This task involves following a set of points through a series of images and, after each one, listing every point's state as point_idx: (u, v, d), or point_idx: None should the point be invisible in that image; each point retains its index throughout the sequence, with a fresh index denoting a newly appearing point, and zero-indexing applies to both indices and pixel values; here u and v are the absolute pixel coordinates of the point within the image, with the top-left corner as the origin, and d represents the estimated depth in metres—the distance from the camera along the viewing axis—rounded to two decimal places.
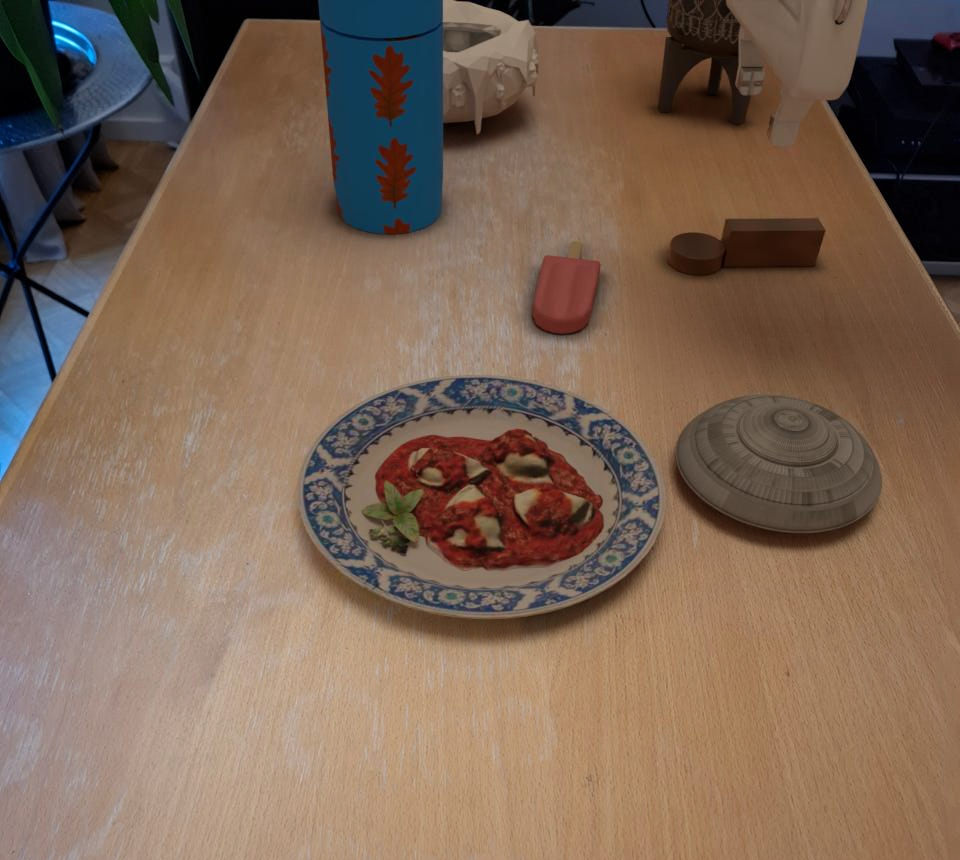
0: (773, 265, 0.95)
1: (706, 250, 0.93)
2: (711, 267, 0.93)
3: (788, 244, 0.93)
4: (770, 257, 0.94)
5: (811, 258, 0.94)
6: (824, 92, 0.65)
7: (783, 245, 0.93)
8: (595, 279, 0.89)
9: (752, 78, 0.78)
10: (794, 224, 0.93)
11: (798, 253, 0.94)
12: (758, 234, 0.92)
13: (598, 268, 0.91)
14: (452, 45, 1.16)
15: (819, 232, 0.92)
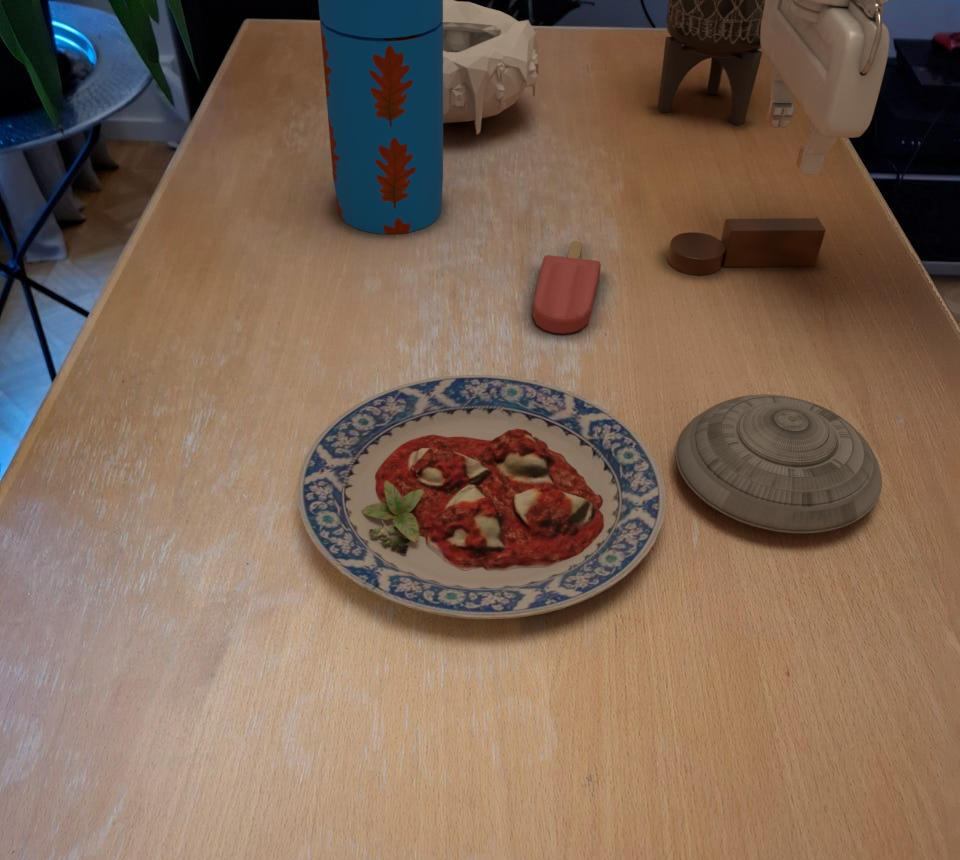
0: (773, 265, 0.95)
1: (706, 250, 0.93)
2: (711, 267, 0.93)
3: (788, 244, 0.93)
4: (770, 257, 0.94)
5: (811, 258, 0.94)
6: (849, 131, 0.77)
7: (783, 245, 0.93)
8: (595, 279, 0.89)
9: (783, 113, 0.89)
10: (794, 224, 0.93)
11: (798, 253, 0.94)
12: (758, 234, 0.92)
13: (598, 268, 0.91)
14: (452, 45, 1.16)
15: (819, 232, 0.92)
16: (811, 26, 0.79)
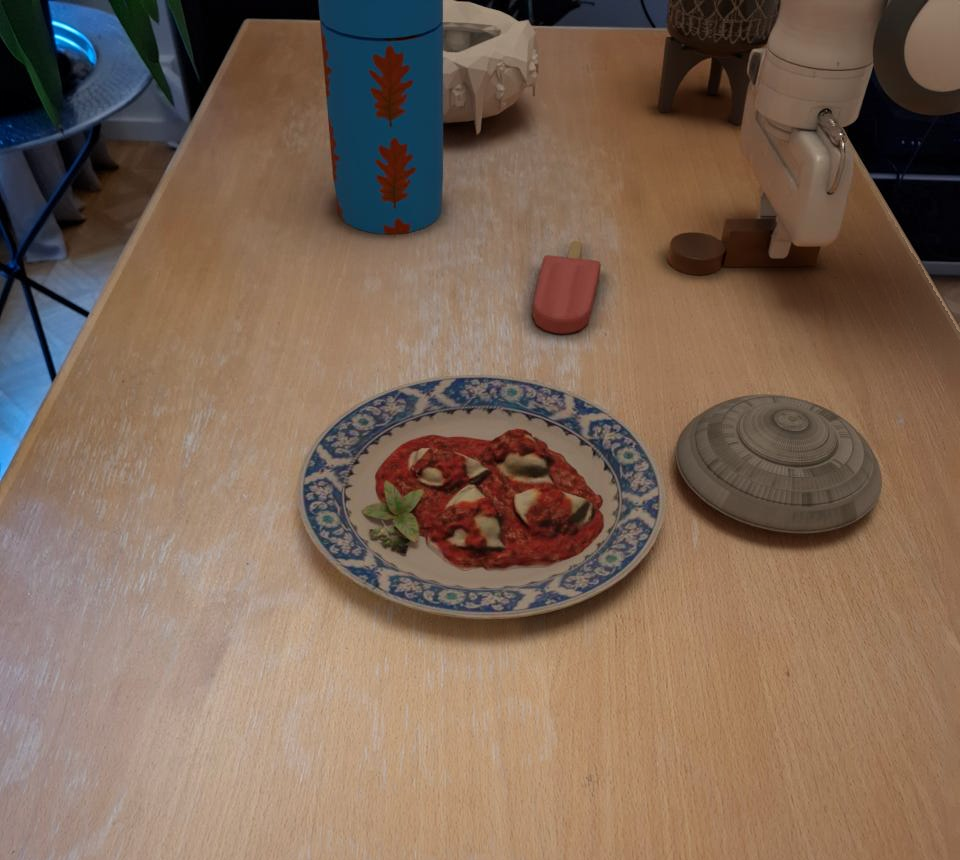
0: (773, 265, 0.95)
1: (706, 251, 0.93)
2: (711, 267, 0.93)
3: None
4: (770, 257, 0.94)
5: (811, 258, 0.94)
6: (819, 241, 0.84)
7: None
8: (595, 279, 0.89)
9: None
10: None
11: (798, 253, 0.94)
12: (758, 234, 0.92)
13: (598, 268, 0.91)
14: (452, 45, 1.16)
15: None
16: (784, 142, 0.86)
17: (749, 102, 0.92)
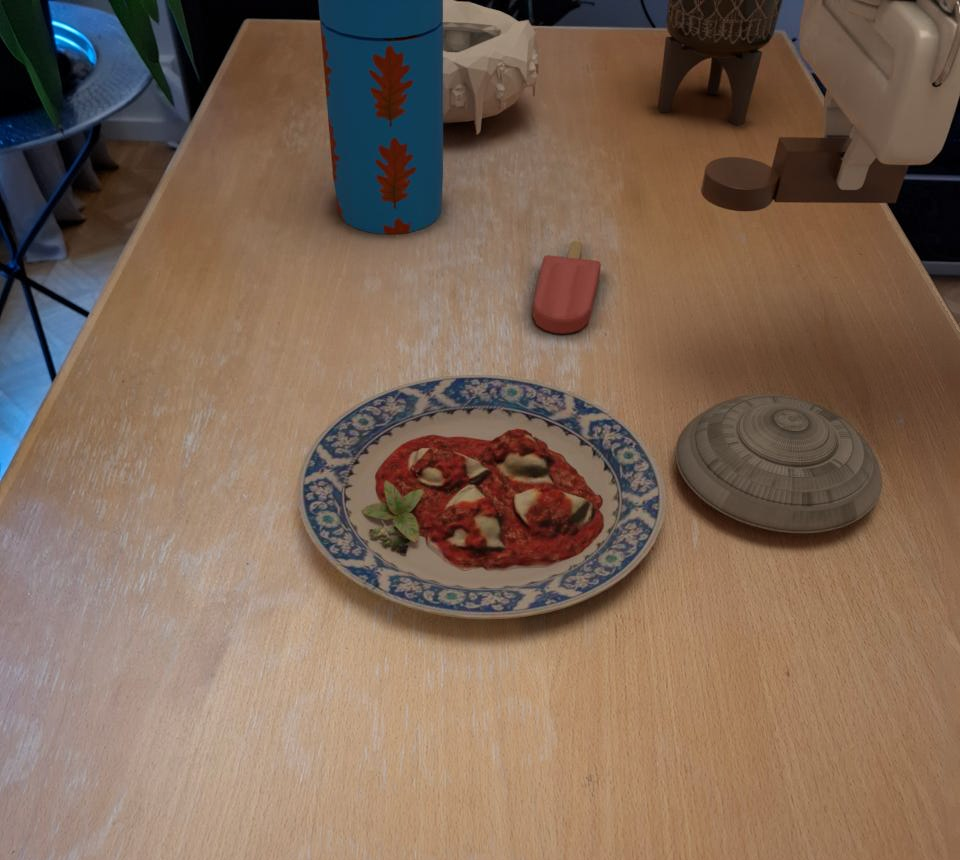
0: (841, 201, 0.72)
1: (753, 179, 0.70)
2: (760, 201, 0.70)
3: None
4: (837, 189, 0.71)
5: (891, 192, 0.71)
6: (915, 157, 0.61)
7: None
8: (595, 279, 0.89)
9: None
10: None
11: (875, 184, 0.71)
12: (823, 156, 0.69)
13: (598, 268, 0.91)
14: (452, 45, 1.16)
15: None
16: (866, 24, 0.63)
17: None
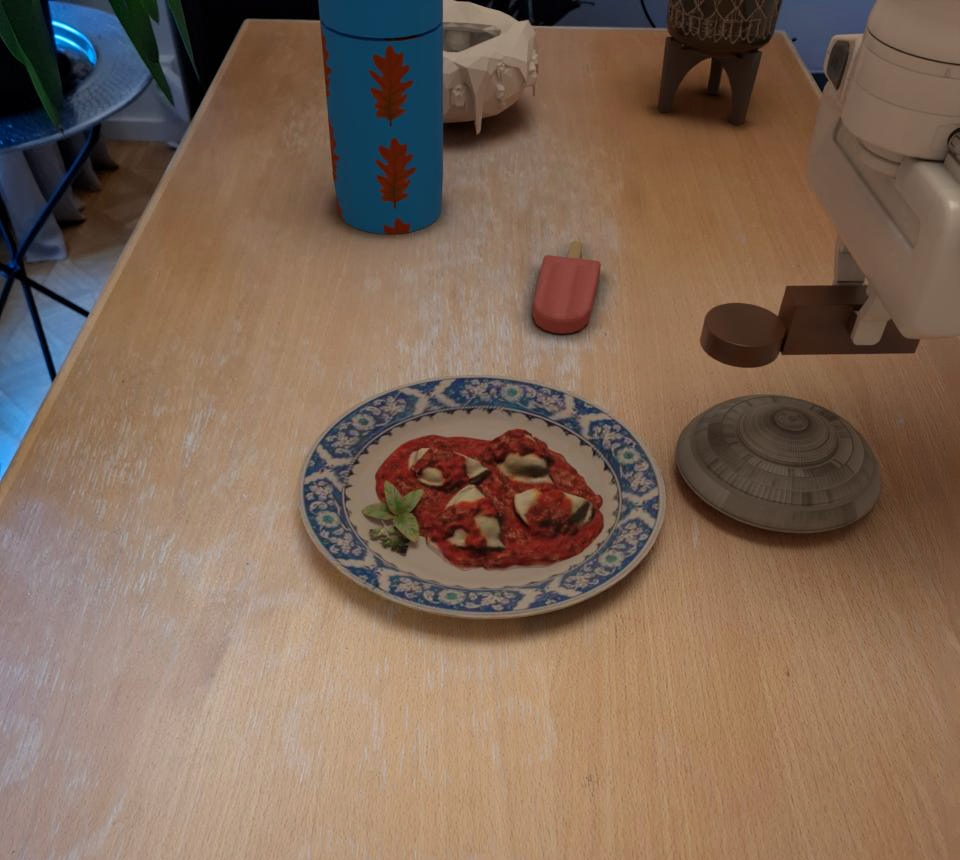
0: (854, 352, 0.65)
1: (757, 332, 0.63)
2: (766, 357, 0.63)
3: None
4: (851, 341, 0.64)
5: (910, 343, 0.65)
6: (943, 333, 0.54)
7: None
8: (595, 279, 0.89)
9: None
10: None
11: (893, 335, 0.64)
12: (836, 309, 0.62)
13: (598, 268, 0.91)
14: (452, 45, 1.16)
15: None
16: (885, 178, 0.56)
17: (824, 115, 0.62)
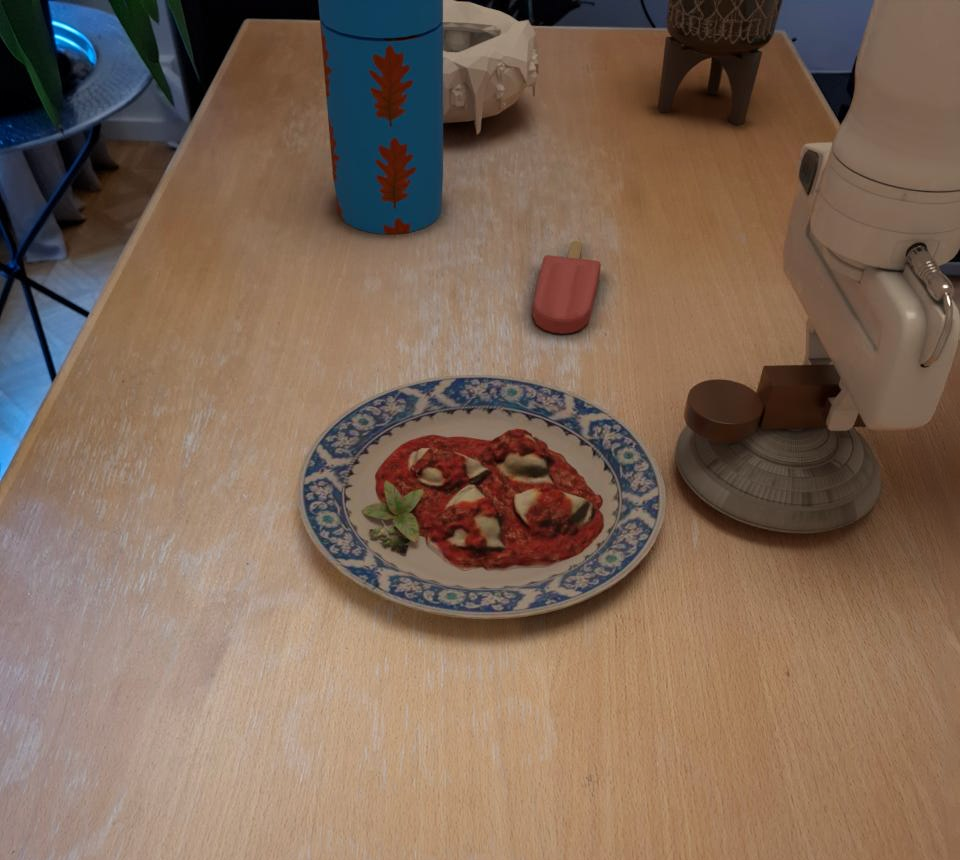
0: None
1: (737, 409, 0.68)
2: (745, 433, 0.68)
3: None
4: None
5: None
6: (904, 427, 0.59)
7: None
8: (595, 279, 0.89)
9: None
10: None
11: None
12: (809, 389, 0.67)
13: (598, 268, 0.91)
14: (452, 45, 1.16)
15: None
16: (852, 279, 0.61)
17: (797, 211, 0.67)
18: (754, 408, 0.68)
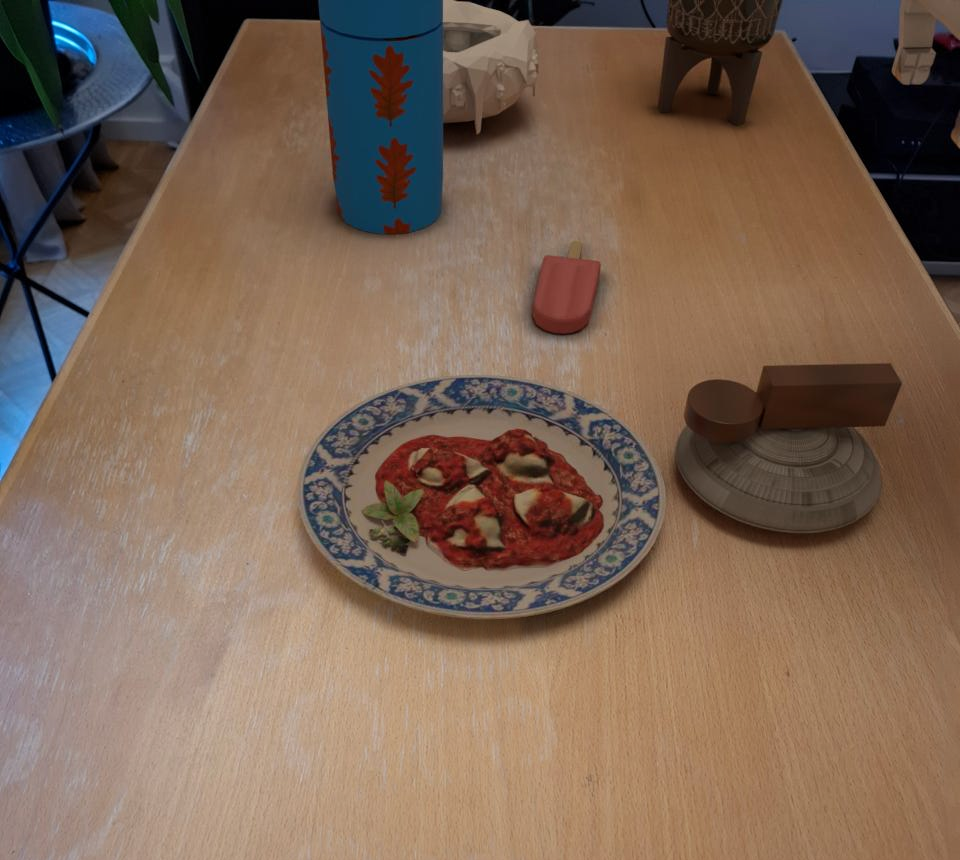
0: (828, 426, 0.69)
1: (737, 410, 0.68)
2: (745, 433, 0.68)
3: (849, 400, 0.68)
4: (825, 416, 0.69)
5: (880, 417, 0.69)
6: None
7: (843, 402, 0.68)
8: (595, 279, 0.89)
9: (918, 62, 0.60)
10: (858, 373, 0.68)
11: (864, 411, 0.68)
12: (809, 389, 0.67)
13: (598, 268, 0.91)
14: (452, 45, 1.16)
15: (894, 385, 0.67)
16: None
17: None
18: (754, 408, 0.68)
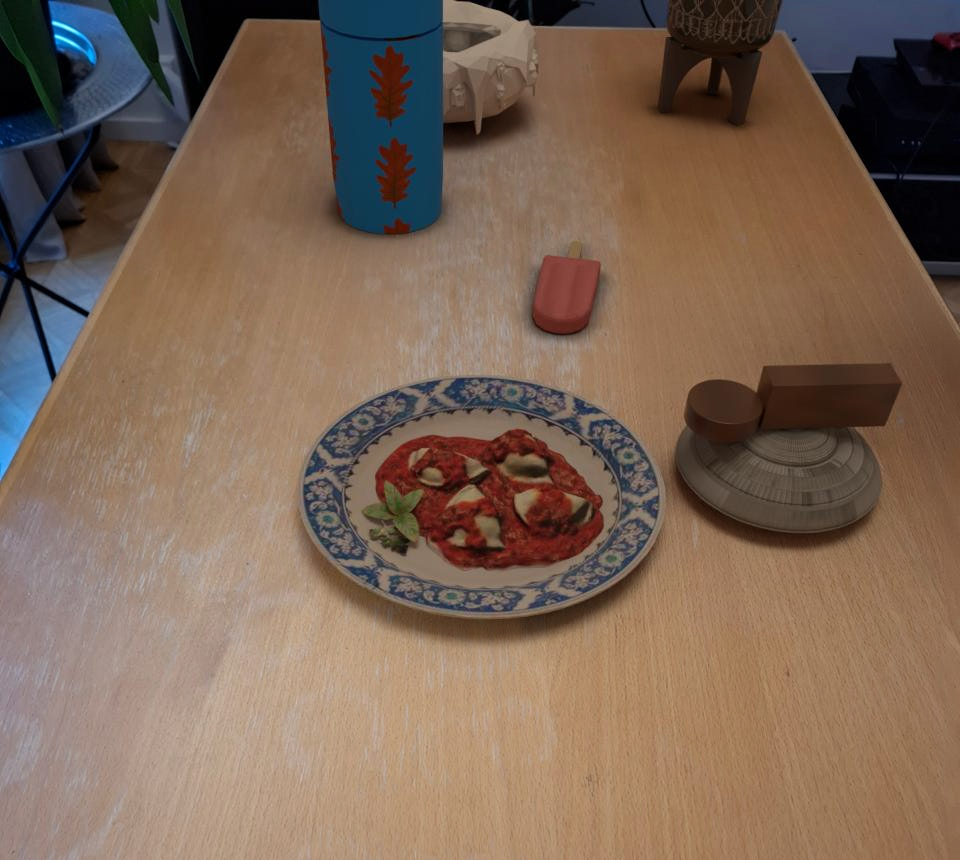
0: (828, 426, 0.69)
1: (737, 410, 0.68)
2: (745, 433, 0.68)
3: (849, 400, 0.68)
4: (825, 416, 0.69)
5: (880, 417, 0.69)
6: None
7: (843, 402, 0.68)
8: (595, 279, 0.89)
9: None
10: (858, 373, 0.68)
11: (864, 411, 0.68)
12: (809, 389, 0.67)
13: (598, 268, 0.91)
14: (452, 45, 1.16)
15: (894, 385, 0.67)
16: None
17: None
18: (754, 408, 0.68)
